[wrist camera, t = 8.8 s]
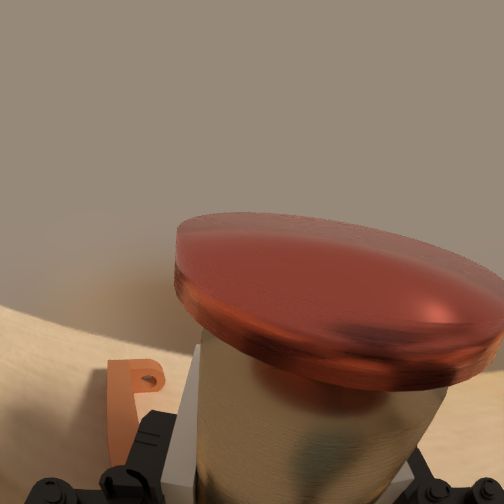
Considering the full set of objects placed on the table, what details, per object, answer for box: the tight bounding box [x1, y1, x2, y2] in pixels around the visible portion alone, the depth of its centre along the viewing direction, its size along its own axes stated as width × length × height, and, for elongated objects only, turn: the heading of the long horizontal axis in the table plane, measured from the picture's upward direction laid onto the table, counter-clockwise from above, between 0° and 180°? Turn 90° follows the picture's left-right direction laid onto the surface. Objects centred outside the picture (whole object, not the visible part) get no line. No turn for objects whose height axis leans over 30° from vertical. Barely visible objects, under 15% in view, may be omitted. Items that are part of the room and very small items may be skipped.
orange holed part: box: [107, 359, 165, 467], centre depth 25 cm, size 20×8×8 cm, turn 23°
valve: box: [174, 212, 504, 504], centre depth 7 cm, size 6×6×14 cm
